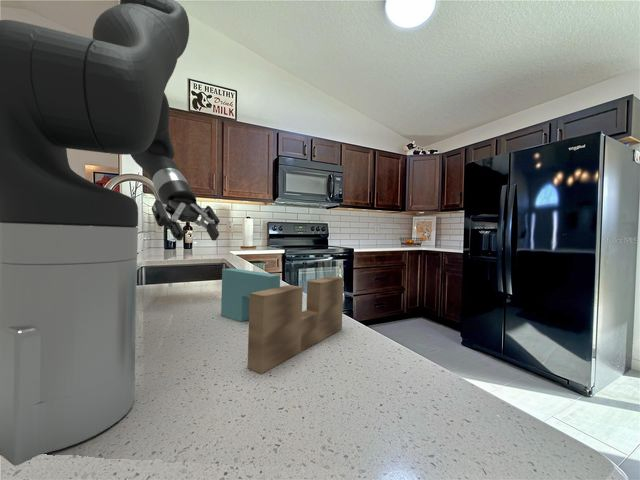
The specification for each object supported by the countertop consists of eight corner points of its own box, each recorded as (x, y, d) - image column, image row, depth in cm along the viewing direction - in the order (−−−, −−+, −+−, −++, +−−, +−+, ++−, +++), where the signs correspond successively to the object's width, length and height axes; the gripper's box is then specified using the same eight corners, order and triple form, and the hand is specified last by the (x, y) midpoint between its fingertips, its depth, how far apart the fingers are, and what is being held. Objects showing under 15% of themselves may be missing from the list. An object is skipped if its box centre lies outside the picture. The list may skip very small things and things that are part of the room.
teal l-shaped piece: (221, 315, 56) (222, 269, 55) (231, 312, 58) (232, 268, 57) (269, 330, 48) (270, 276, 48) (278, 326, 50) (280, 275, 50)
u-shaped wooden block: (261, 374, 33) (263, 296, 33) (247, 367, 34) (249, 293, 34) (341, 329, 50) (343, 277, 49) (330, 326, 51) (331, 276, 51)
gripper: (148, 173, 61) (175, 225, 55) (206, 184, 72) (233, 227, 66) (137, 198, 64) (161, 250, 58) (194, 204, 76) (219, 248, 69)
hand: (199, 238), depth 62 cm, fingers open, 8 cm apart
